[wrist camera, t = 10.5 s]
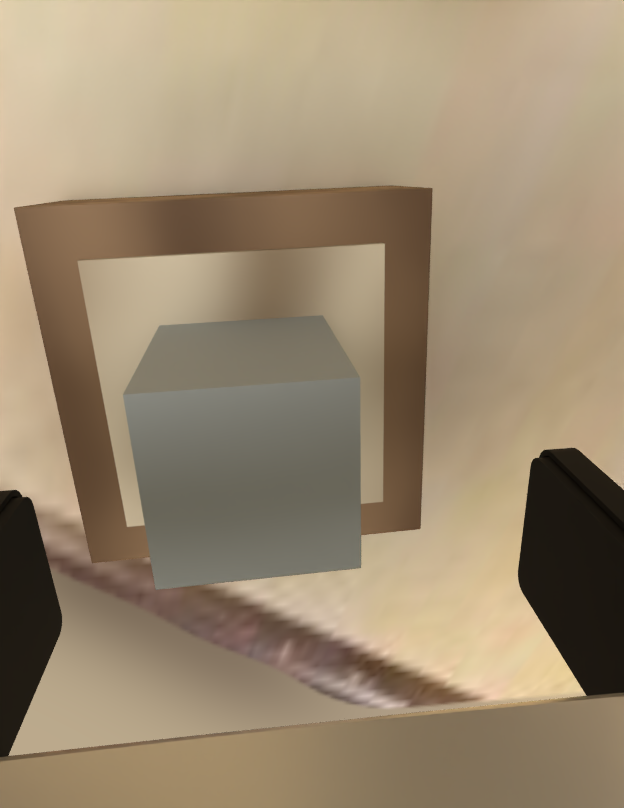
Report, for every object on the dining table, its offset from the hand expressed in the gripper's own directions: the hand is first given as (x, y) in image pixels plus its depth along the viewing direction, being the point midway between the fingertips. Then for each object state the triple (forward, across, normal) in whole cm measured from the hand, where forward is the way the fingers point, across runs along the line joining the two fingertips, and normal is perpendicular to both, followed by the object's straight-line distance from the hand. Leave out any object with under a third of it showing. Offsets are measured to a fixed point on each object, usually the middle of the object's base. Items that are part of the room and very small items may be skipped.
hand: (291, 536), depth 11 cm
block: (+8, +1, 0) cm, 8 cm away
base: (+14, +1, 0) cm, 14 cm away
